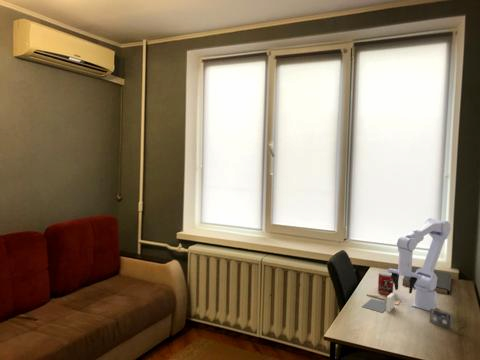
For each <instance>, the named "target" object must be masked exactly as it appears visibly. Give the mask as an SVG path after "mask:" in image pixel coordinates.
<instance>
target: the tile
mask: <svg viewBox="0 0 480 360" xmlns="http://www.w3.org/2000/svg"><path fill="white" fill-rule="evenodd" d="M386 296H387V297H386V298H387V305H386V310H385V311H386V312H388V313H390V312H392V311H393V310H394V309H395V304H394V301H395V300H396V294H395V293H394V292H393V293H391V294H390V295H386Z"/></svg>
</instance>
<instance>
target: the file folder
mask: <svg viewBox="0 0 480 360" xmlns="http://www.w3.org/2000/svg"><path fill="white" fill-rule="evenodd" d="M420 268H421V267H414V266H412V270H411V272H413V273H416V270H418V269H420ZM434 273H435V274H436V276H437V285H436V288H435V289H434V290H433V291H435V292H437V294H439V293H440V294H445V295H450V293H451V292H450V291H451V286H452V285H451V284H452V278H453V277H452V275H451V273H449V272H444V271H438V270H434ZM425 276H426V275H425ZM428 277H429V276H428ZM410 278H411V277H406V276H403V278H402V285H401V286H402V287H408V288H410ZM413 289H416V288H415V287H413Z"/></svg>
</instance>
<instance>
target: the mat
mask: <svg viewBox="0 0 480 360" xmlns="http://www.w3.org/2000/svg"><path fill="white" fill-rule="evenodd" d="M386 305H387V302H385V301H384V300H380V299H377V298H371V299H369V300H368V301H367V302H365V303H364V304H362V305H361V308H364V309H368V310H371V311H374V312H378V313H381V314H383V313H384V312H385V311H386Z"/></svg>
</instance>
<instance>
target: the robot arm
mask: <svg viewBox="0 0 480 360" xmlns="http://www.w3.org/2000/svg"><path fill="white" fill-rule="evenodd" d="M450 232H451V223H450V222H449V221H448V220H441V219H434V218H427V220H425V223H424V225H423V226H421V228H419V229H413V230H412V231H411V232H409V233H407V235H405V236H401V237H399V238H398V239H397V242H396V246H397V251H398V266H397V269H396V268H388V269H387V271H388V273H392V275H391V277H392V279H393V282H394V283H393V286H394V289H395V291H398V290H399V281H400V280H399V279H400V276H403V277H404V276H406V277H411V278H410V287H408V288H409V289H408V290H409V291H408V293H409V294H412V293H413V289H415V293H414V302H413V303H412V305H411V306H412V307H415V308H418V309H421V310H425V311H429V312H430V309H434V310H436V308H437V301H438V300H437V299H438V297H437V296H438V292H435V291H433V290H434V289H435V288H436V285H437V276H436V274H435V273H434V271H435V269H436V265H437V263H438V261H439V257H440V255H441V251H442V248H443V246H444V244H445V241H446V240H448V237H449V234H450ZM426 235H429V236H430V237H431V238H432V240H431V243H430V246H429V248H428V251H427V254H426V256H425V259H424V261H423V265H422V267H419V268H420V269H418V270H416V273H413V272H411V270H412V267H413V251H415V250H416V248H417V246H418V244H419V243H421V242H422V241H424V237H425V236H426ZM425 275H426V276H425ZM428 276H429V277H428ZM413 287H415V288H413Z"/></svg>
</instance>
